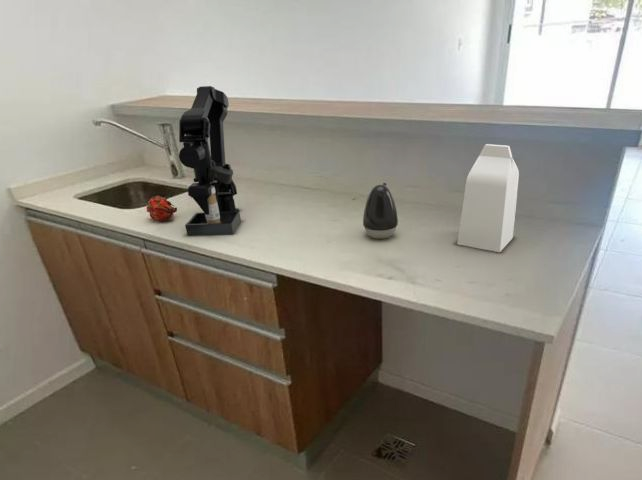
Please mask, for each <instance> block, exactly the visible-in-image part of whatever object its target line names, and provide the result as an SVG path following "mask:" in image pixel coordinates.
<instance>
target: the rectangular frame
mask: <svg viewBox="0 0 642 480" xmlns="http://www.w3.org/2000/svg"><path fill="white" fill-rule="evenodd" d="M219 214H220V221H221V223H208V224H207V220H206V216H205V213H204V212H203V211H202V212H195V213H194V214H193V215H192V217H191V218H190V219H189V220H188V221H187V222H186V223H185V224H184V226H185V230H186V235H187V236H188V237H190V236H191V237H192V236H193V237H194V236H216V235H217V236H218V235H221V236H222V235H234V233H235V232H236V230H237V229H238V227H239V225H240V224H241V221H242V219H241V213H240V210H239V211H229V212H219Z"/></svg>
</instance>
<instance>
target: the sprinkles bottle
mask: <svg viewBox="0 0 642 480" xmlns="http://www.w3.org/2000/svg"><path fill="white" fill-rule="evenodd" d="M211 188H212V191H211V193H212V194H211V196H210V197H209V215H206V214H205V216H206V220H207V223H206V224H208V223H221V221H220V214H219V209H218V204H217V200H216V195H215V187H214V186H211Z"/></svg>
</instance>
